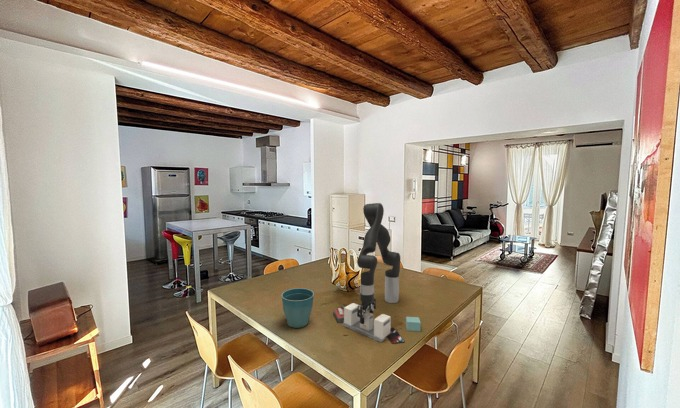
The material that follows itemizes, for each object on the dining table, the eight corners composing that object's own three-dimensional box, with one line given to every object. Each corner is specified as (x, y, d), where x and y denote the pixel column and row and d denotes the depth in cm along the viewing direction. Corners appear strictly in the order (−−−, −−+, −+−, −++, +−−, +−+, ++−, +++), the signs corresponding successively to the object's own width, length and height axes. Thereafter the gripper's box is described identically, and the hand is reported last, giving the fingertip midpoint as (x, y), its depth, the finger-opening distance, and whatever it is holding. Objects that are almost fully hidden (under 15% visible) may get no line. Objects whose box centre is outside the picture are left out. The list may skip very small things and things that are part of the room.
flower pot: (299, 312, 176) (298, 285, 174) (320, 321, 164) (320, 293, 163) (275, 323, 162) (274, 294, 160) (297, 335, 150) (296, 303, 149)
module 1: (352, 317, 166) (352, 302, 165) (359, 320, 163) (359, 305, 162) (343, 323, 160) (344, 307, 159) (351, 326, 157) (351, 310, 156)
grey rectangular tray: (353, 319, 167) (353, 316, 167) (391, 334, 151) (391, 331, 151) (342, 325, 160) (342, 323, 159) (381, 342, 143) (381, 339, 143)
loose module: (364, 324, 159) (364, 310, 158) (373, 328, 155) (373, 314, 154) (359, 327, 156) (359, 313, 155) (369, 331, 152) (369, 316, 151)
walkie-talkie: (352, 322, 164) (343, 306, 183) (352, 315, 163) (343, 300, 182) (338, 325, 161) (330, 308, 181) (338, 317, 161) (330, 301, 180)
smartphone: (393, 327, 158) (405, 341, 143) (393, 328, 158) (405, 343, 144) (381, 328, 156) (392, 343, 142) (381, 329, 157) (392, 345, 142)
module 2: (382, 329, 153) (382, 313, 153) (390, 333, 150) (390, 316, 149) (373, 335, 147) (374, 319, 147) (382, 339, 144) (382, 322, 143)
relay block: (405, 325, 161) (418, 325, 160) (407, 330, 155) (420, 331, 154) (406, 316, 160) (418, 317, 160) (407, 322, 154) (420, 322, 154)
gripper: (368, 286, 161) (368, 313, 163) (353, 293, 150) (353, 323, 152) (380, 289, 156) (379, 317, 158) (365, 297, 145) (364, 328, 147)
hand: (366, 320), depth 155 cm, fingers open, 8 cm apart
